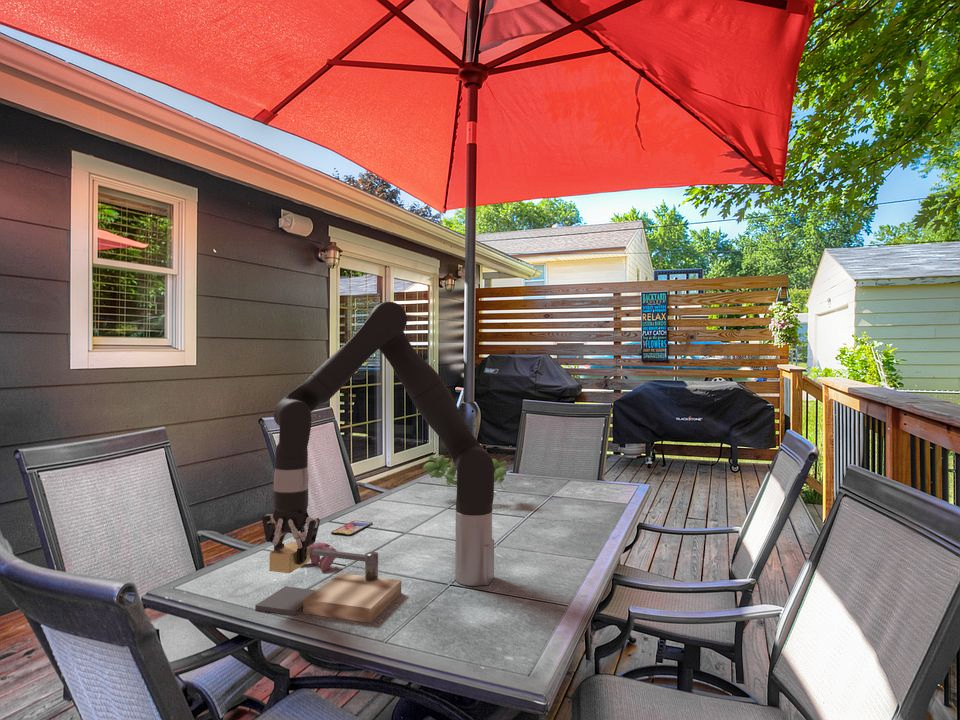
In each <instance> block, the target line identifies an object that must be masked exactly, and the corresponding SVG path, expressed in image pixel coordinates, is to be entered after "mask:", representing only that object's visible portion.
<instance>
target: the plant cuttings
mask: <svg viewBox="0 0 960 720" xmlns="http://www.w3.org/2000/svg"><path fill="white" fill-rule="evenodd" d="M449 460H450V458H449V457H446V456H445V455H443V454H441V455H438V456H437V457H436V458H434V456H433V455H430V456H429V457H428V462H426V463H425V464H424V465H423V467H422V468H423V469H424V471H426V472H427V475H429V476H430V478H431V479H433V478H436V479H439V478H442V477H445V479H446V480H445V482H446V485H447V486H448V487H449V488H450V486H451V487H453V488H454V486H457V470H456V467H455V464H454V462H453V460H452V459H451V461H450V462H449ZM492 460H493V463H494V483H496V482H497V484H499V485H500V487H501V488H502V489H503V490H506V488H504V487H503V486H502V484H501V483H502V482H503V481H505V478H504V476H505V475H507V469H506V468H505V467H504V466H508V462H507V461H506V460H503V461H500V460H497V459H496V458H492ZM432 461H433V462H432ZM448 462H449V463H448ZM449 466H450V467H449ZM453 485H454V486H453ZM454 490H456V489H455V488H454ZM494 496H496V497H497V494H496V493H495V492H494Z"/></svg>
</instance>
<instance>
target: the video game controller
mask: <svg viewBox="0 0 960 720" xmlns="http://www.w3.org/2000/svg"><path fill="white" fill-rule="evenodd" d="M314 549H322V550H330V551H337V549H336V548H335V547H334V546H332V545H330V544H329V543H326V542H315V543H313V544H311V545H310V563H311V564H312V565H318V564H319V565H320V570H321V572H323V573H324V572H326V571H328V570H329V569H330V567H331V566H332V564H333V562H334V561H335V560H336V558H334V557H326V556H318V555H312V550H314Z"/></svg>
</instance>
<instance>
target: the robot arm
mask: <svg viewBox="0 0 960 720" xmlns="http://www.w3.org/2000/svg"><path fill="white" fill-rule="evenodd" d="M407 324H408V316H407V312H406V310H405V309H404V307H402V306H401V305H400V304H399V303H396V302H393V301H384V302H380V303H378V304H377V305H375V306H374V307H373V308H372V310H370V312H369V314H368V315H367V316H366V318H365V322H363V324H362V326H361V327H360V328H359V329H358V330H357V332H355V334H354V335H353V336H352V337H351V338H350V339H348V341H346V343H345V344H344V345H342V346H341V347H340V348H339V349H338V350H336V351H335V352H334V353H333V354H332V355H331V356H330V357H329V358H328V359H326V360H325V361H324V362H323V363H322V364H320V365H319V367H317V368H316V370H315V371H314V372H312V373H311V375H309V377H308V378H306V380H305V381H304V382H303V383H301V384H300V385H299V386H297V387H295V389H293V390H291V391H290V392H289V393H288V394H287V395H285V396H284V397H283V398H282V399H280V401H279V402H277V405H276V406H275V408H274V410H273V420H274V422H275V424H277V426H279V435H278V437H279V438H278V439H279V440H278V443H277V444H276V448H275V451H274V452H275V454H274V455H275V457H274V466H275V467H274V475H273V499H272V501H273V509H274V511H273V513H267V514H265V515H263V516H262V517H261V521H262V528H263V532H264V536H265V537H264V538H265V542H267V543H271V544H272V545H273V551H274V550H276V549H279V548H280V547H282V546H284V545H285V543H284V540H285V537H286V535H287V534H288V533H289V534H292V538H293V539H294V540H295V542H296V543H297V546H298V548H297V564H298V565H301V564H303V563H304V562H305V561H306V559H307V547H308V546H310V545H311V544H313V543H316V539H317V535H318V530H319V527H320V526H319V525H320V522H321V520H320V518H319V517H316V518H313V517H310V515H309V513H308V506H309V484H310V483H309V481H310V480H309V468H308V465H309V463H308V460H309V457H308V455H309V453H308V452H309V450H308V446H309V441H310V435H311V430H312V429H311V428H312V412H313V411H315V409H317V407H318V406H320V405H322V404H326V403H327V402H328V401H329V400H330V399H332V398H333V397H334V396H335V394H337V393H338V392H339V391H340V390H341V388H343V386H345V384H347V382H348V381H349V380H350V379H351V378H352V377H353V376H354V374H355V373H357V371H358V370H359V369H360V368H361V367H362V366H363V365H364V363H365V362H367V360H369V358H370V357H372V355H374V354H375V353H376V351H378V350H379V351H380V352H381V354H383V356H384V358H385V359H386V360H387V362H389V364H390V365H391V367H392V369H393V371H394V373H395V375H396V376H397V378H398V379H399V382H400V383H401V385H402V387H403V388H404V389H405V392H406V393H407V394H408V397H409V398H410V400H411V401H412V403H413V405H414V406H415V408H416V410H417V411H418V413H419V414H420V415H421V417H422V418H423V420H424V421H425V422H426V423H427V425H429V427H430V428H431V429H432V430H433V431H434V432H435V433H436V435H437V436H438V437H439V438H440V439H441V441H442V443H443V445H444V446H445V448H446V449H447V452H448V455H449V456H450V457H451V461H452V460H453V461H452V463H453V462H454V464H455V465H454V466H455V467H456V476H457V479H456V481H457V485H456V498H455V499H456V500H455V550H454V551H455V552H454V553H455V556H454V557H455V561H454V562H455V566H454V567H455V569H454V573H455V574H454V575H455V577H454V578H455V581H456V582H457V583H458V584H460V585H464V586H471V587H474V586H477V587H478V586H489V585H490V583H491V582H492V580H493V578H494V577H495V539H494V538H493V503H494V498H495V494H494V493H495V482H494V463H493V460H492V459H493V458H492V457H491V455H490V453H488V451H487V450H486V449H485V448H484V447H483V446H482V445H481V444H480V442H479V441H478V440H477V438H476V437H475V436H474V435H473V433H472V432H471V431H470V429H469V427H468V426H467V425H466V423H465V421H464V419H463V417H462V414H461V412H460V409H459V407H458V405H457V403H456V401H455V399H454V397H453V395H452V393H451V392H450V390H449V389H448V387H447V385H446V384H445V382H444V380H443V379H442V377H441V375H439V374H438V372H437V371H436V370H435V369H434V368H433V367H432V366H431V365H430V363H428V362H427V361H426V360H424V359H423V357H421V356H420V355H419V353H418V352H417V351H416V350H415V348H413V346H412V344H411V342H410V341H409V338H408V337H407V336H406V335H407V334H406V333H405V329H406V327H407ZM275 524H276V526H275ZM306 524H307V525H306Z"/></svg>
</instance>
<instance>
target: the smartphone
mask: <svg viewBox="0 0 960 720" xmlns="http://www.w3.org/2000/svg"><path fill="white" fill-rule="evenodd" d="M373 524H374V523H373V522H372V521H363V520H353V521H351V522H349V523H346V524H344V525H342V526H340V527H338V528H335V529H334V530H332V531H331V535H332V536H333V535H334V536H341V537H351V536H352V537H353V536H354V535H356V534H358V533H360V532H361V531H363V530H365V529H367V528H369V527H370V525H371V526H372V525H373ZM368 526H369V527H368Z"/></svg>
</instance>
